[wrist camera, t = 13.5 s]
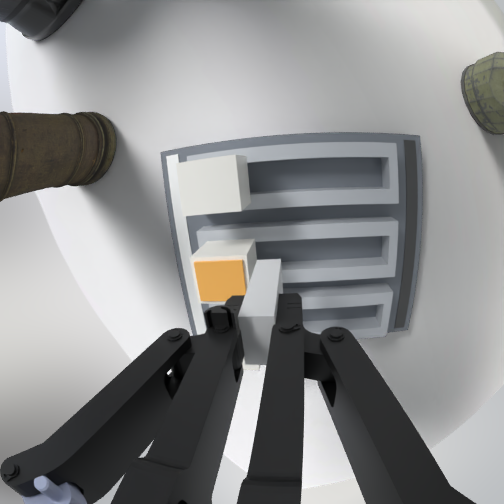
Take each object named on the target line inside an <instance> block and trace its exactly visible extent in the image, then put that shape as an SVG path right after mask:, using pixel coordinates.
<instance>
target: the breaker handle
mask: <svg viewBox="0 0 504 504" xmlns="http://www.w3.org/2000/svg"><path fill="white" fill-rule="evenodd" d="M190 261H191V267H192V272H193V278H194V283H195V288H196V293H197V298H198V303H204V304H225V303H226V301H227V300H228V299H229V298H230V297H231V296H232V295H245V294H246V291H247V288H248V285H249V282H250V279H251V277H252V274H253V271H254V268H255V265H256V262H257V255H256V245H255V239H238V240H221V241H207V242H206V243H205V244H204V245H203V246H201V247H200V248H199V249H198V250H197V251H196V252H195V253H194V254H193V255H192V256H191V257H190Z"/></svg>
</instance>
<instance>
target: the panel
mask: <svg viewBox="0 0 504 504" xmlns="http://www.w3.org/2000/svg"><path fill="white" fill-rule="evenodd" d="M161 161H162V169H163V178H164V186H165V193H166V200H167V207H168V214H169V220H170V226H171V232H172V238H173V244H174V249H175V255H176V260H177V265H178V270H179V275H180V280H181V285H182V290H183V295H184V299H185V304H186V308H187V312H188V317H189V321H190V325H191V329H192V333H193V336H194V335H200V334H204V333H205V332H206V330H207V326H206V321H205V316H204V312H205V311H206V310H207V309H209V308H210V307H213V306H218V305H225V304H204V303H198V298H197V293H196V288H195V283H194V278H193V272H192V267H191V261H190V257H191V256H192V255H193V254H194V253H195V252H196V251H197V250H198V249H199V248H200V247H201V246H203V245H204V244H205V243H206V242H207V241H221V240H238V239H255V245H256V255H257V260H267V259H281V267H282V283H283V293H298V294H299V295H300V296H301V297H302V314H303V326H304V328H305V329H306V330H308V331H309V332H312V333H316V334H321V332H322V331H323V330H325V329H326V328H329V327H336V326H337V327H343V328H346V329H348V330H349V331H350V332H351V333H352V334H353V336H354V337H355V339H365V338H376V337H385V336H386V335H387V332H395V331H403V330H408V326H409V322H410V317H411V312H412V306H413V300H414V294H415V288H416V281H417V274H418V265H419V256H420V245H421V231H422V205H423V182H422V157H421V143H420V136H418V135H405V134H389V133H358V132H337V133H305V134H288V135H275V136H263V137H254V138H245V139H236V140H229V141H222V142H215V143H208V144H202V145H196V146H190V147H185V148H180V149H174V150H169V151H165V152H161ZM242 364H243V370H255V371H259V370H260V365H245V360H244V359H243V363H242Z"/></svg>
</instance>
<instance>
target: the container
mask: <svg viewBox="0 0 504 504" xmlns="http://www.w3.org/2000/svg"><path fill="white" fill-rule="evenodd" d="M115 149H116V136H115V131H114V129H113V127H112V125H111V123H110V121H109V120H108V119H107V118H106V117H104V116H103V115H101V114H99V113H95V112H87V113H86V112H79V113H76V114H68V113H61V114H39V113H7V112H0V202H1V201H2V200H3V199H5V198H9V197H13V196H17V195H21V194H24V193H28V192H32V191H36V190H40V189H44V188H49V187H56V188H58V187H62V186H65V185H70V186H80V185H89V184H92V183H94V182H96V181H97V180H99V179H100V178H101V177H102V176H103V175H104V174H105V173H106V171H107V170H108V168H109V166H110V165H111V162H112V160H113V157H114V153H115Z"/></svg>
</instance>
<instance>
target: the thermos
mask: <svg viewBox="0 0 504 504" xmlns="http://www.w3.org/2000/svg"><path fill="white" fill-rule="evenodd" d="M461 87H462V94H463V97H464V100H465V104H466V106H467V108H468V110H469V112H470V114H471V115H472V117H473V118H474V120H475V121H476V122H477V124H478V125H479V126H480V127H482V128H483V129H484V130H485V131H487V132H489V133H491V134H504V53H503V52H496V53H493V54H491V55H489V56H486V57H484V58H482V59H480V60H477V62H476V63H475V64H473V65H470V66H468V67H466V69H465V70H464V71H463V73H462V78H461Z"/></svg>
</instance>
